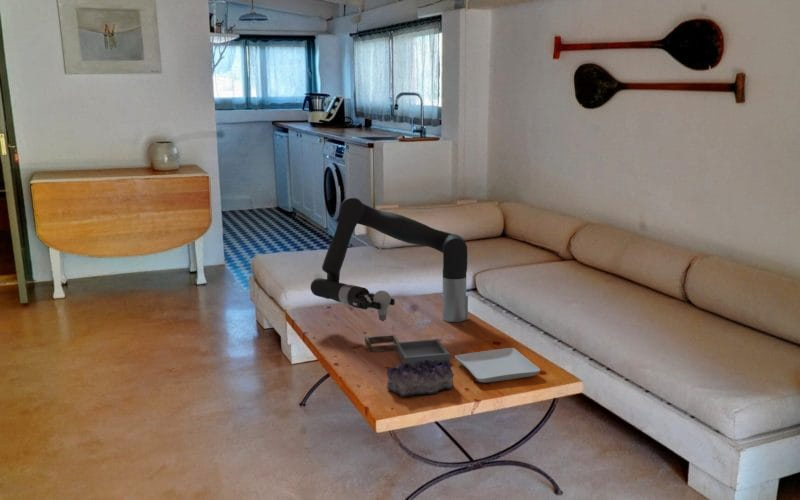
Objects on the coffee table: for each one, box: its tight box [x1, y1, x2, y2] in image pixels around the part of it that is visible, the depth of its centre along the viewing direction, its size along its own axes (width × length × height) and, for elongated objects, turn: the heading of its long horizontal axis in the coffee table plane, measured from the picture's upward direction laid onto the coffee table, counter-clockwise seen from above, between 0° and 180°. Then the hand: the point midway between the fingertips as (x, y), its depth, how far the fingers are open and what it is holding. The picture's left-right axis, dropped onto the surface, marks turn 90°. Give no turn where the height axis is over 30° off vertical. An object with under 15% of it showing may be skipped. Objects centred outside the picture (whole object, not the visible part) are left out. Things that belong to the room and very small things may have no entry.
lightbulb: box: [373, 290, 392, 322], centre depth 245 cm, size 6×6×11 cm
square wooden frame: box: [364, 334, 400, 353], centre depth 248 cm, size 11×11×2 cm
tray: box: [395, 338, 451, 365], centre depth 237 cm, size 15×15×3 cm
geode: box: [386, 360, 455, 398], centre depth 209 cm, size 20×12×10 cm, turn 109°
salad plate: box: [454, 347, 541, 384], centre depth 223 cm, size 21×21×3 cm
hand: (387, 304), depth 243 cm, fingers closed on lightbulb, 6 cm apart
